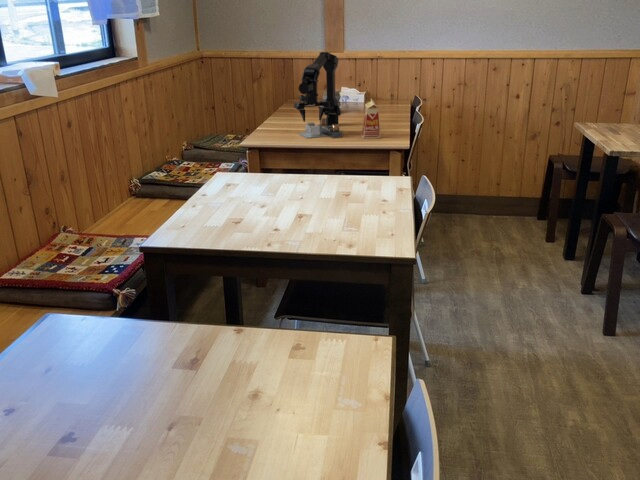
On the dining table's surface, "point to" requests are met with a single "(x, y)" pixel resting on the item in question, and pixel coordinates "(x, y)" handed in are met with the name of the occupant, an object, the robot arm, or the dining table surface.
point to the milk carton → (371, 121)
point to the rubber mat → (312, 136)
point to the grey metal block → (312, 129)
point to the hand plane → (330, 129)
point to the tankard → (337, 96)
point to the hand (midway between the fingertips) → (312, 120)
